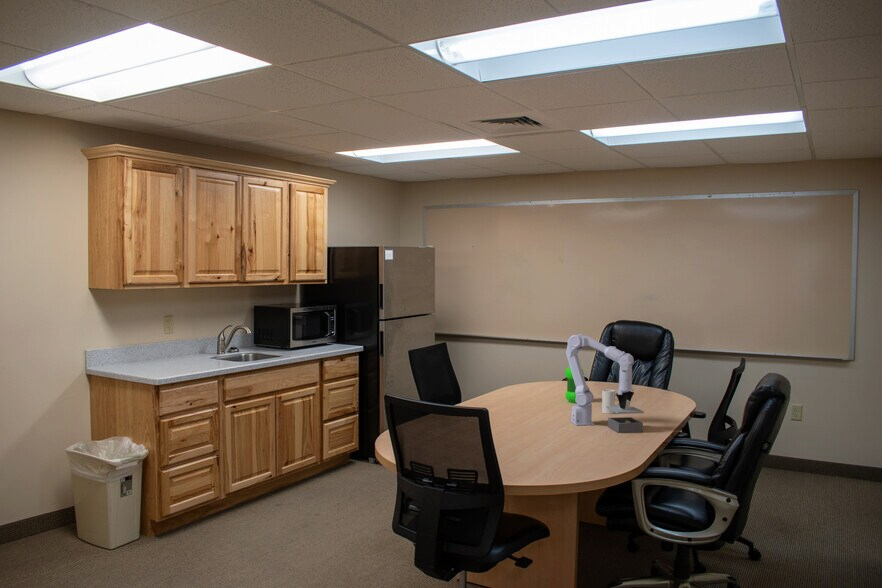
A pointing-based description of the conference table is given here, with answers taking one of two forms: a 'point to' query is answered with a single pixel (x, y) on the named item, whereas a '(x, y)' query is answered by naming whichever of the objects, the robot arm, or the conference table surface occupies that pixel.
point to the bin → (625, 425)
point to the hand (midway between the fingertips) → (624, 407)
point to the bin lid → (627, 409)
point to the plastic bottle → (570, 386)
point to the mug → (608, 400)
